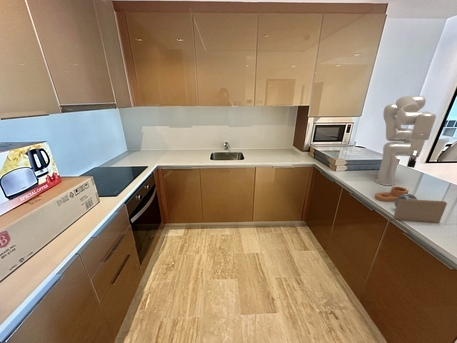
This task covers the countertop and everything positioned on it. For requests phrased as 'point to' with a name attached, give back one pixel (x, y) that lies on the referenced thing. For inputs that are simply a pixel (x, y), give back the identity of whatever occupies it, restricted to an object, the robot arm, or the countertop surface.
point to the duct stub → (418, 209)
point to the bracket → (391, 194)
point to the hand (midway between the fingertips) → (411, 164)
